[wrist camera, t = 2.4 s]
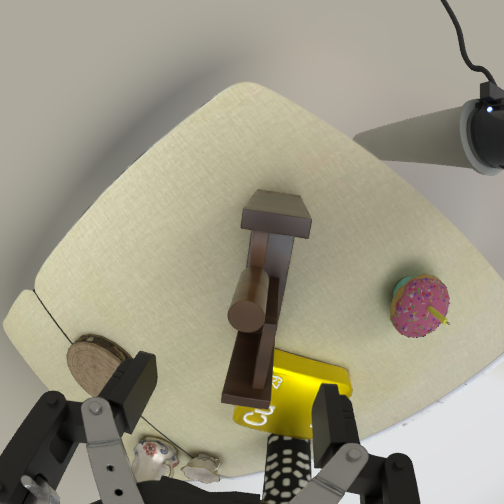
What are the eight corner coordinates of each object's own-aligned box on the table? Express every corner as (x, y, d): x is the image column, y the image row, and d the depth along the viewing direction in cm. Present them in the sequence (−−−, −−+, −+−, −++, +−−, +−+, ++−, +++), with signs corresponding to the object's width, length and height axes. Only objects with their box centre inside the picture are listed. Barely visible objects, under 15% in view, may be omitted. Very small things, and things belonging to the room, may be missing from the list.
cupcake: (380, 269, 35) (416, 315, 23) (434, 257, 33) (482, 296, 22) (381, 324, 37) (408, 379, 26) (431, 311, 36) (468, 359, 25)
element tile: (311, 424, 45) (312, 444, 40) (232, 405, 45) (228, 425, 40) (353, 369, 40) (358, 390, 36) (263, 343, 40) (260, 365, 35)
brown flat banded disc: (157, 402, 47) (151, 413, 44) (95, 393, 49) (88, 402, 46) (125, 334, 42) (117, 345, 39) (62, 332, 45) (54, 340, 42)
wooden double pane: (257, 189, 33) (242, 208, 21) (300, 195, 33) (312, 219, 20) (238, 333, 40) (220, 402, 27) (273, 338, 39) (268, 410, 27)
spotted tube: (265, 429, 46) (256, 521, 28) (310, 427, 45) (312, 519, 26) (269, 451, 49) (261, 532, 30) (309, 449, 48) (311, 531, 29)
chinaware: (157, 467, 60) (145, 514, 45) (110, 439, 55) (91, 488, 40) (234, 455, 53) (229, 517, 38) (182, 422, 48) (165, 493, 33)
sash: (257, 207, 32) (234, 252, 17) (278, 210, 32) (275, 259, 17) (247, 275, 35) (222, 363, 20) (267, 278, 35) (255, 368, 19)
